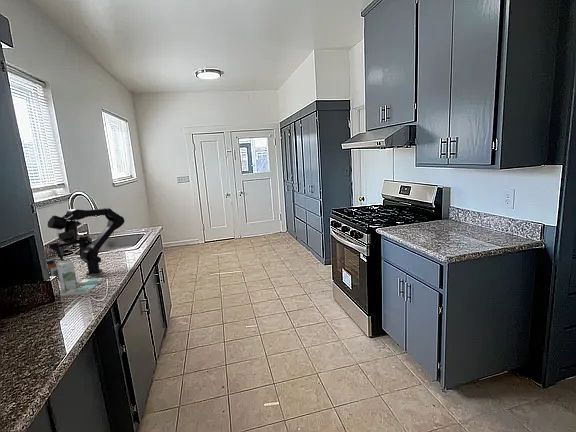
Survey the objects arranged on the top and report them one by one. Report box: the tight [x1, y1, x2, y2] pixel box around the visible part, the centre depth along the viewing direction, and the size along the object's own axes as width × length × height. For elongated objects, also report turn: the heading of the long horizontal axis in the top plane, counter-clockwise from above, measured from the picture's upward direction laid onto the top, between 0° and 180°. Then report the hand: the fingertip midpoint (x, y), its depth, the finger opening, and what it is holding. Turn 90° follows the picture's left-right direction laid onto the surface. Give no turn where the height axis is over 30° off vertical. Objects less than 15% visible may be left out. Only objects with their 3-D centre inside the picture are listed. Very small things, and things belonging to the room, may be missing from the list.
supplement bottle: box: [46, 258, 59, 279], centre depth 186 cm, size 6×6×11 cm
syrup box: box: [56, 259, 78, 290], centre depth 168 cm, size 6×6×14 cm
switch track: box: [59, 277, 103, 297], centre depth 170 cm, size 17×17×2 cm
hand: (71, 258), depth 174 cm, fingers open, 9 cm apart
